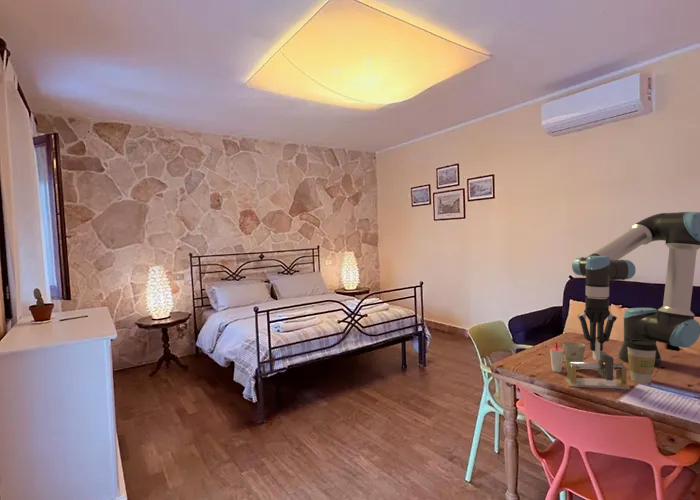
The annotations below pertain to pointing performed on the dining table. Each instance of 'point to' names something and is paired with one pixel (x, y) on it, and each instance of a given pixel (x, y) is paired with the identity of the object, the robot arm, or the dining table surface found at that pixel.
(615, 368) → the metal rod stand
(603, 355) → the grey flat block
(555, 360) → the cup
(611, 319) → the robot arm
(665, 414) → the dining table surface
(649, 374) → the coffee cup
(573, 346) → the mug
